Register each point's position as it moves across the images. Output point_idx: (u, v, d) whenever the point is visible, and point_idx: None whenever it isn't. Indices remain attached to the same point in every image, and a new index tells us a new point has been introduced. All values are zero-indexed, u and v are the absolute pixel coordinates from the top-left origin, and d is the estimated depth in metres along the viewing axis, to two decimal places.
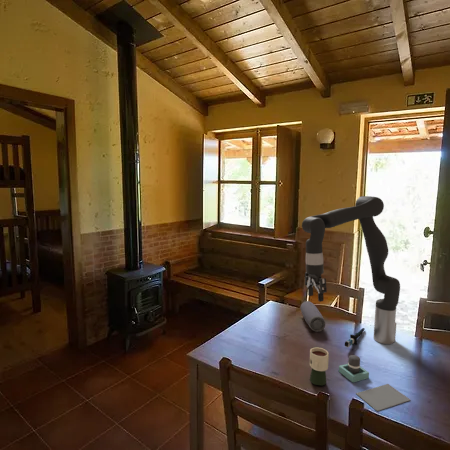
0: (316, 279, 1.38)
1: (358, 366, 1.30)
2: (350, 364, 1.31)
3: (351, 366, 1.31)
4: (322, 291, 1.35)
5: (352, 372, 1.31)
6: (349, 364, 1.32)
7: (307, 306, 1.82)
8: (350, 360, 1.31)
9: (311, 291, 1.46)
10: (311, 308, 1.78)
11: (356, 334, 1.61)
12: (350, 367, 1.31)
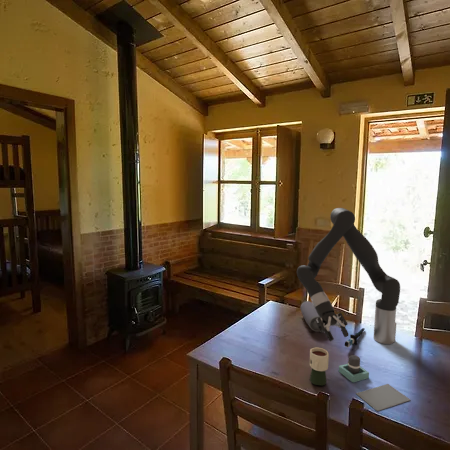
0: None
1: (358, 366, 1.30)
2: (350, 364, 1.31)
3: (351, 366, 1.31)
4: (320, 330, 1.39)
5: (352, 372, 1.31)
6: (349, 364, 1.32)
7: (307, 306, 1.82)
8: (350, 360, 1.31)
9: (344, 332, 1.41)
10: (311, 308, 1.78)
11: (356, 334, 1.61)
12: (350, 367, 1.31)
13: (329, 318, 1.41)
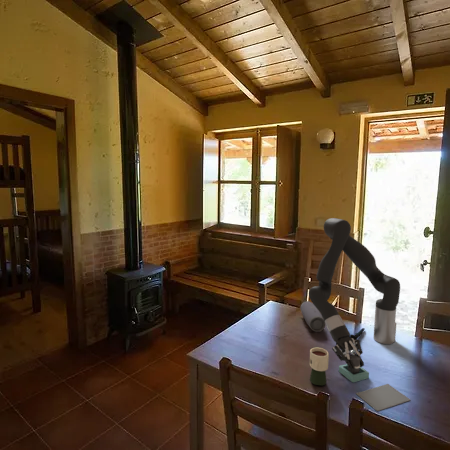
0: None
1: (358, 366, 1.30)
2: None
3: None
4: (340, 358, 1.32)
5: (352, 372, 1.31)
6: None
7: (307, 306, 1.82)
8: None
9: None
10: (311, 308, 1.78)
11: (356, 334, 1.61)
12: None
13: (345, 344, 1.34)
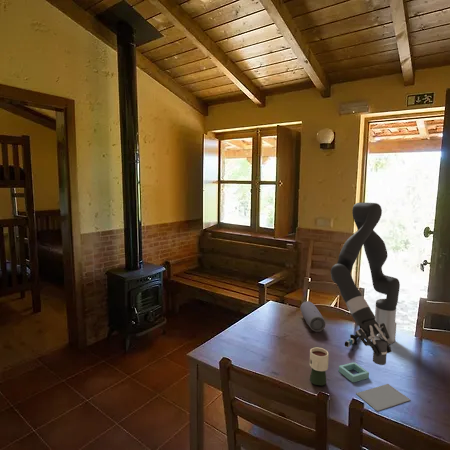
0: None
1: (385, 351, 1.17)
2: None
3: None
4: (365, 343, 1.18)
5: (378, 358, 1.17)
6: None
7: (307, 306, 1.82)
8: None
9: None
10: (311, 308, 1.78)
11: (356, 334, 1.61)
12: None
13: (370, 327, 1.20)
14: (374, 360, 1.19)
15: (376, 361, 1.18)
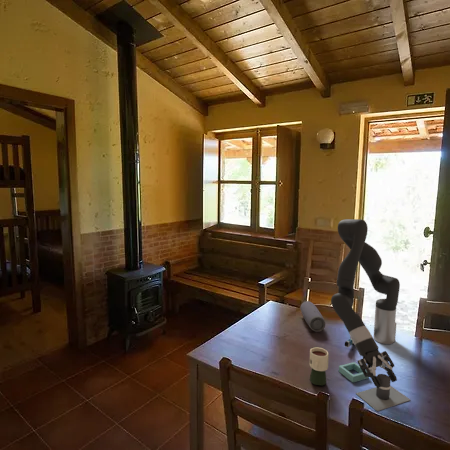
0: None
1: (388, 387, 1.17)
2: None
3: (381, 387, 1.17)
4: (365, 374, 1.17)
5: (382, 393, 1.17)
6: None
7: (307, 306, 1.82)
8: (379, 380, 1.17)
9: (391, 375, 1.19)
10: (311, 308, 1.78)
11: None
12: (379, 388, 1.17)
13: (374, 358, 1.20)
14: (377, 395, 1.18)
15: (380, 396, 1.18)
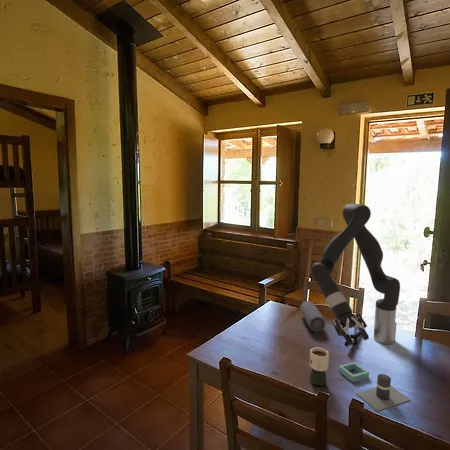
0: None
1: (388, 387, 1.17)
2: (379, 385, 1.17)
3: (381, 387, 1.17)
4: (338, 334, 1.28)
5: (382, 394, 1.17)
6: (378, 384, 1.18)
7: (307, 306, 1.82)
8: (379, 380, 1.17)
9: (363, 334, 1.30)
10: (311, 308, 1.78)
11: (356, 334, 1.61)
12: (379, 388, 1.17)
13: (347, 320, 1.30)
14: (377, 395, 1.18)
15: (379, 396, 1.18)
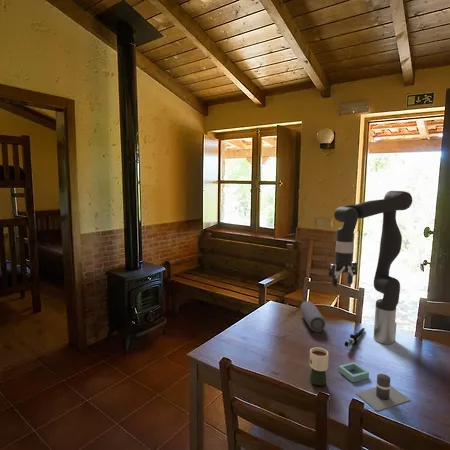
0: None
1: (388, 387, 1.17)
2: (379, 384, 1.17)
3: (380, 387, 1.17)
4: (329, 275, 1.46)
5: (381, 393, 1.17)
6: (378, 384, 1.18)
7: (307, 306, 1.82)
8: (379, 380, 1.17)
9: (349, 280, 1.49)
10: (311, 308, 1.78)
11: (356, 334, 1.61)
12: (379, 388, 1.17)
13: (343, 267, 1.45)
14: (377, 395, 1.18)
15: (379, 396, 1.18)
